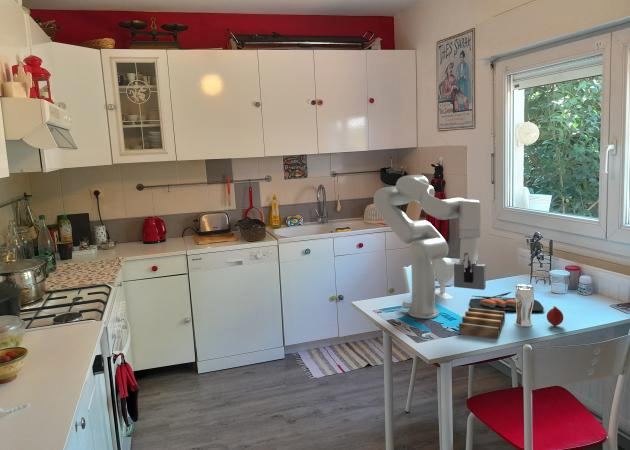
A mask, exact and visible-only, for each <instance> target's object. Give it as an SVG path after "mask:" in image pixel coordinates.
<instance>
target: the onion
mask: <svg viewBox="0 0 630 450" xmlns="http://www.w3.org/2000/svg"><path fill="white" fill-rule="evenodd" d="M546 319H547V322H548V323H549V324H551V325H552V326H553V327H556V326H559V325H560V324H562V323H563V321H564V314H563V312H562V311H561V310H560V309H559V308H558V307H557V306H556V305H553V307H552V308H551V309H549V310H548V312H547V313H546Z"/></svg>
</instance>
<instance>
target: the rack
mask: <svg viewBox="0 0 630 450" xmlns="http://www.w3.org/2000/svg"><path fill="white" fill-rule="evenodd" d="M467 309H468V310H466V311H465V313H464V314H465V315H464V316H461V320H462V321H461V322H459V323H458V334H459V335H466V336H473V337H480V338H488V339H496V340H498V339H499V337H500V335H501V332H502V330H503V327H504V324H505V321H506V320H505V319H506V311H505V310H486V309H477V308H472V307H468V308H467Z"/></svg>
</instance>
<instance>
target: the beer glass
mask: <svg viewBox="0 0 630 450" xmlns="http://www.w3.org/2000/svg"><path fill="white" fill-rule="evenodd" d="M534 289H535V287H534V286H532V285H528V284H517V285H516V286H515V290H514V298H515V307H516V311H515V312H516V317H515V321H514V324H515V325H516V326H518V327H521V328H528V327H529V328H530V327H532V326H533V324H532V323H533V322H532V321H533V320H532V313H533V311H532V308H533V303H534V300H535V290H534Z"/></svg>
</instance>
